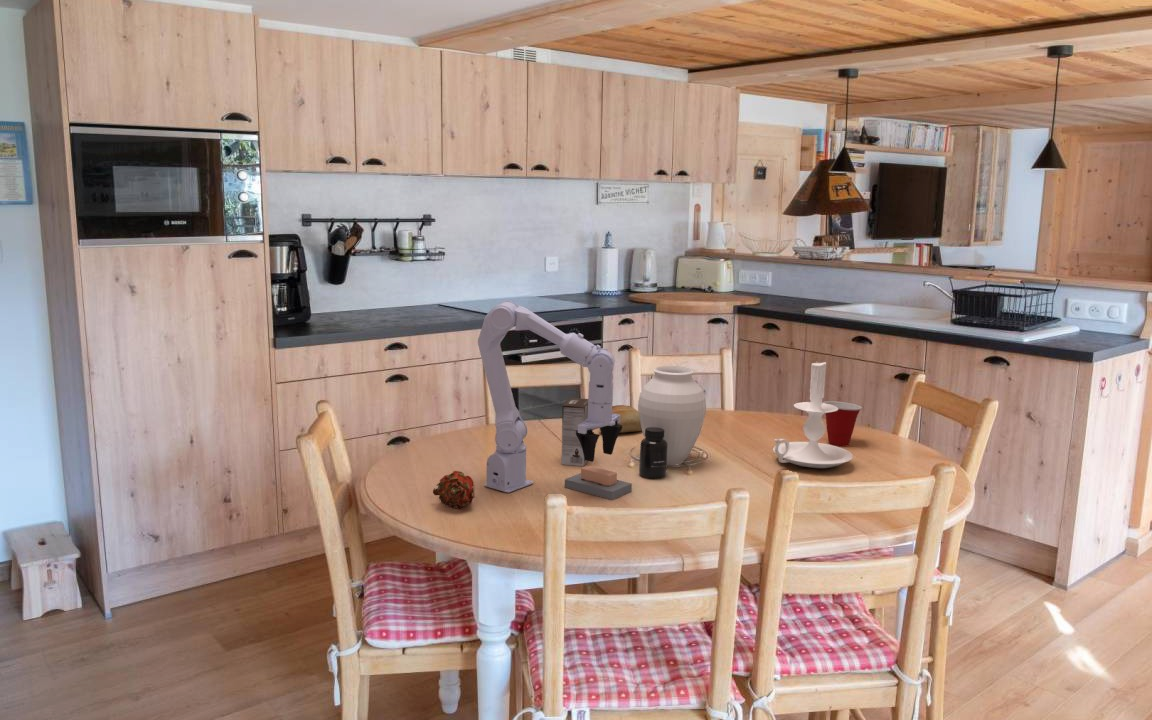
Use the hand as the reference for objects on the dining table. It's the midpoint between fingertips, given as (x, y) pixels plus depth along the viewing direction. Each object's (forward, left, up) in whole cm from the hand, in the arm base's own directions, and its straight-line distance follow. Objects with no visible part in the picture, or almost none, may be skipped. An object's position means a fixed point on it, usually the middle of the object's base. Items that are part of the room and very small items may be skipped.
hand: (598, 457), depth 211 cm
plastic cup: (+79, -29, -8) cm, 85 cm away
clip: (0, 0, -8) cm, 8 cm away
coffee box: (+15, +18, -8) cm, 25 cm away
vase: (+31, -1, -8) cm, 32 cm away
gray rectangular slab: (0, 0, -8) cm, 8 cm away
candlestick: (+53, -30, -8) cm, 61 cm away
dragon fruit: (-30, +18, -8) cm, 36 cm away
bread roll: (+47, +26, -8) cm, 54 cm away
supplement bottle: (+18, -4, -8) cm, 20 cm away
